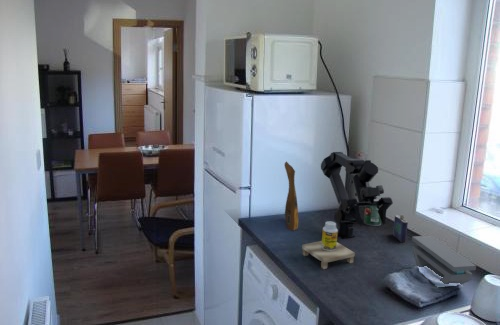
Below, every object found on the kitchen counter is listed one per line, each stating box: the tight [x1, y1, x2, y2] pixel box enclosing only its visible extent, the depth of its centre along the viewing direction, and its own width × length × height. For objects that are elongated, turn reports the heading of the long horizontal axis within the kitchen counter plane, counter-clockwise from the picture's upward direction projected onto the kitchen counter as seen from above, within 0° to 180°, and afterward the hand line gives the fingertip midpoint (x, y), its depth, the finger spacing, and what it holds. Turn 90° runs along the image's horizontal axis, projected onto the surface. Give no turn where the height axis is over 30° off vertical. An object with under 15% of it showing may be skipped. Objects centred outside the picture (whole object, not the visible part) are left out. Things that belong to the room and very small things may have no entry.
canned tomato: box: [363, 198, 382, 227], centre depth 209 cm, size 8×8×11 cm
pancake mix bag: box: [284, 161, 299, 232], centre depth 202 cm, size 7×19×28 cm, turn 179°
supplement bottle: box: [321, 220, 338, 251], centre depth 169 cm, size 6×6×10 cm
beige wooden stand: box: [301, 240, 356, 270], centre depth 171 cm, size 14×14×4 cm
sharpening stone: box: [411, 235, 477, 286], centre depth 157 cm, size 25×8×11 cm, turn 11°
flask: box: [392, 214, 409, 243], centre depth 192 cm, size 9×3×11 cm, turn 8°
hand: (373, 224), depth 170 cm, fingers open, 9 cm apart
